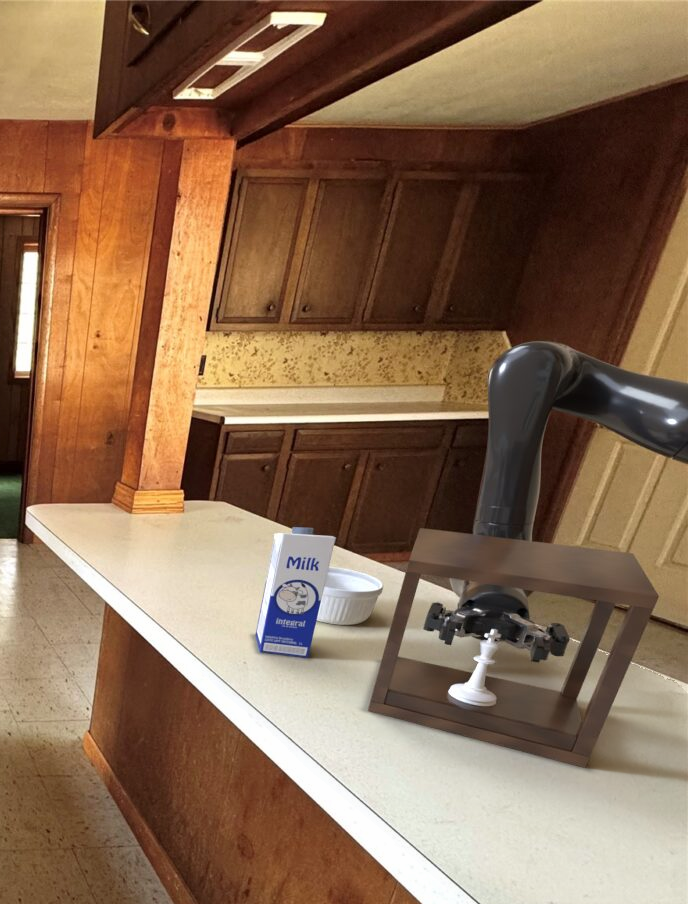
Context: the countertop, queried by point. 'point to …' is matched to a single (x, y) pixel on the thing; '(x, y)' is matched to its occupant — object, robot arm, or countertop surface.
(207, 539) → the countertop surface
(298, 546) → the milk carton
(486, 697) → the chess piece
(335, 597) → the ramekin
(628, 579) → the rack
